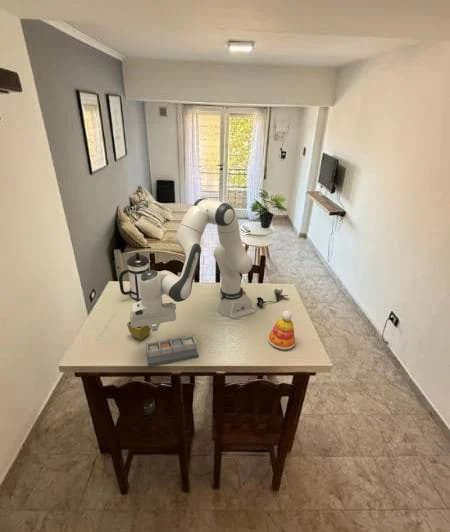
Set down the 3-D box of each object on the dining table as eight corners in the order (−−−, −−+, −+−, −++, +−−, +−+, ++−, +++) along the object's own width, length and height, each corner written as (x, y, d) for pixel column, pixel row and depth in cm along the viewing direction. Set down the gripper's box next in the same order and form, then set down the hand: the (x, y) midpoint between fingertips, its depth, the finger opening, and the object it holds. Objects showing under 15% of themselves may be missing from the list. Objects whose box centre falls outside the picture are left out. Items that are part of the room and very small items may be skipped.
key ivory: (191, 344, 152) (191, 339, 150) (193, 350, 148) (193, 344, 147) (183, 346, 151) (183, 340, 149) (185, 351, 147) (185, 345, 146)
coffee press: (133, 288, 197) (128, 246, 184) (157, 291, 196) (154, 248, 182) (121, 303, 182) (115, 258, 168) (147, 306, 180) (143, 261, 167)
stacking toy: (262, 342, 157) (266, 310, 148) (277, 329, 167) (281, 299, 158) (285, 355, 149) (291, 323, 140) (300, 341, 158) (306, 310, 150)
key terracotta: (169, 348, 149) (169, 343, 147) (170, 354, 145) (170, 348, 144) (161, 350, 147) (160, 344, 146) (162, 355, 144) (161, 350, 142)
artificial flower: (253, 305, 189) (253, 289, 187) (281, 300, 200) (282, 286, 198) (261, 309, 181) (262, 293, 179) (290, 304, 192) (291, 289, 190)
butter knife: (93, 339, 153) (99, 340, 153) (113, 312, 174) (118, 312, 174) (93, 340, 153) (99, 341, 153) (113, 312, 174) (118, 313, 174)
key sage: (158, 350, 147) (157, 345, 145) (159, 356, 144) (158, 350, 142) (149, 352, 146) (149, 346, 144) (150, 358, 142) (149, 352, 141)
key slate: (180, 345, 150) (180, 339, 148) (182, 350, 146) (182, 345, 145) (172, 346, 149) (172, 341, 147) (173, 352, 145) (173, 346, 144)
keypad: (192, 338, 157) (191, 330, 154) (198, 357, 145) (198, 348, 142) (146, 346, 150) (145, 337, 147) (148, 367, 138) (147, 358, 136)
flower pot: (140, 344, 152) (138, 329, 148) (128, 337, 156) (126, 323, 152) (153, 334, 158) (151, 320, 154) (140, 328, 162) (139, 314, 158)
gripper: (174, 298, 139) (176, 322, 146) (128, 305, 134) (131, 329, 140) (177, 305, 134) (178, 330, 141) (128, 313, 128) (132, 338, 135)
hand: (154, 330), depth 140 cm, fingers closed
